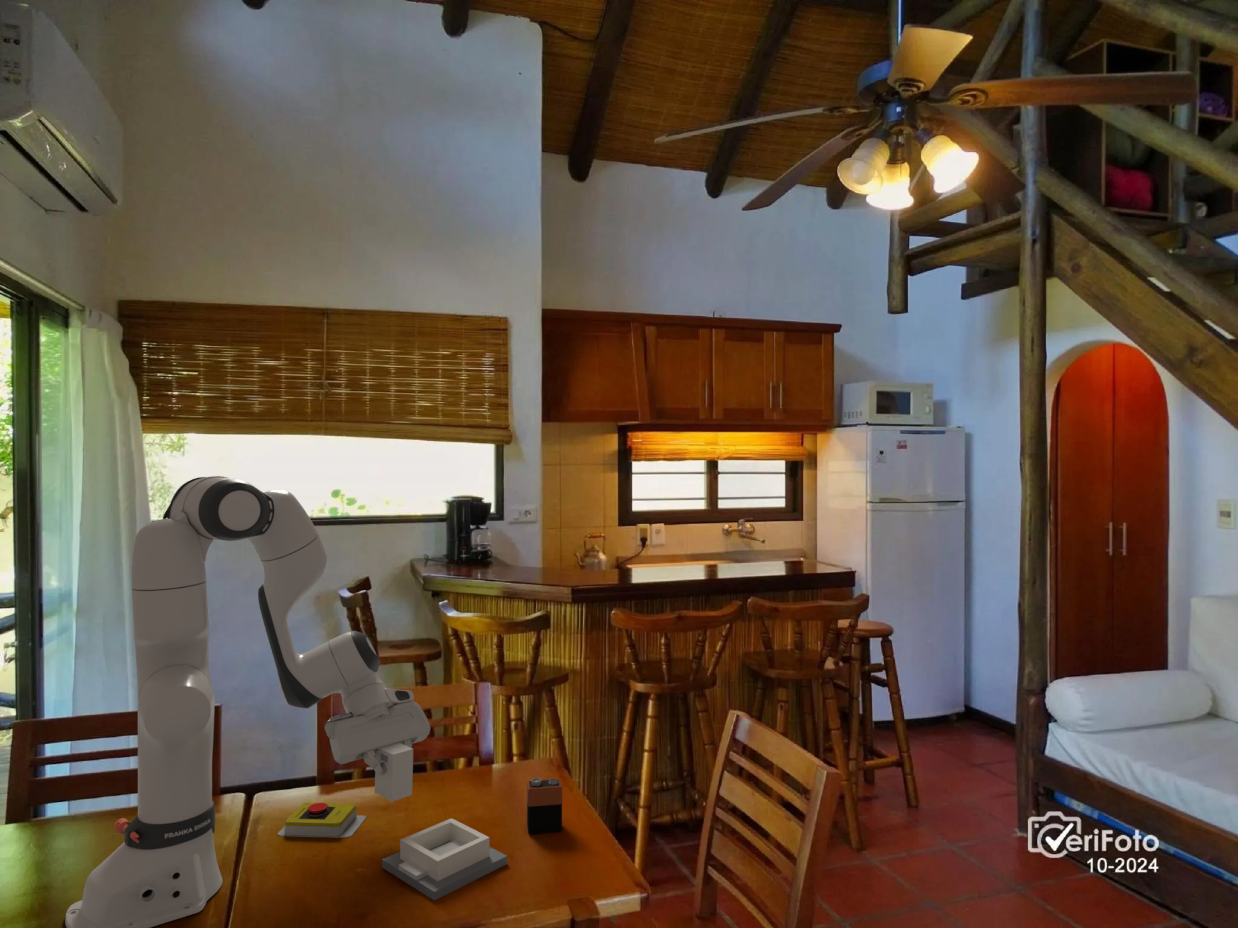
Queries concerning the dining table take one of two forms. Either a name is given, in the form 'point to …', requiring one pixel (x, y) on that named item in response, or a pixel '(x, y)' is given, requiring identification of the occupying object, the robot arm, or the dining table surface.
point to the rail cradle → (443, 858)
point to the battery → (544, 806)
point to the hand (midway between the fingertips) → (395, 769)
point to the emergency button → (323, 821)
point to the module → (395, 772)
